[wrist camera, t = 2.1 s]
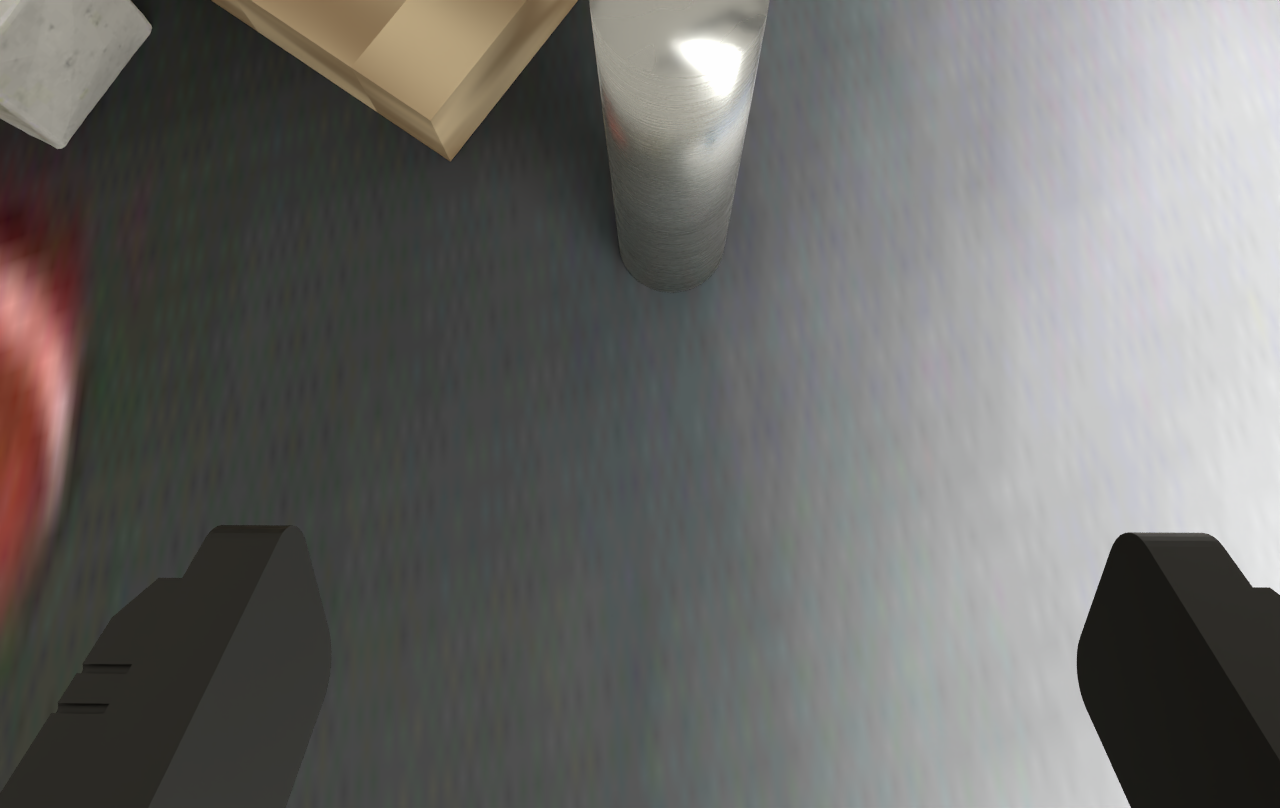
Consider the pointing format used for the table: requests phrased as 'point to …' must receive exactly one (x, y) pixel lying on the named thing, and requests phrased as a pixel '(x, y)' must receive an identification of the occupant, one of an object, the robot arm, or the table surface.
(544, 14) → the socket
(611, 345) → the table surface
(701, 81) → the pin
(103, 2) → the block
